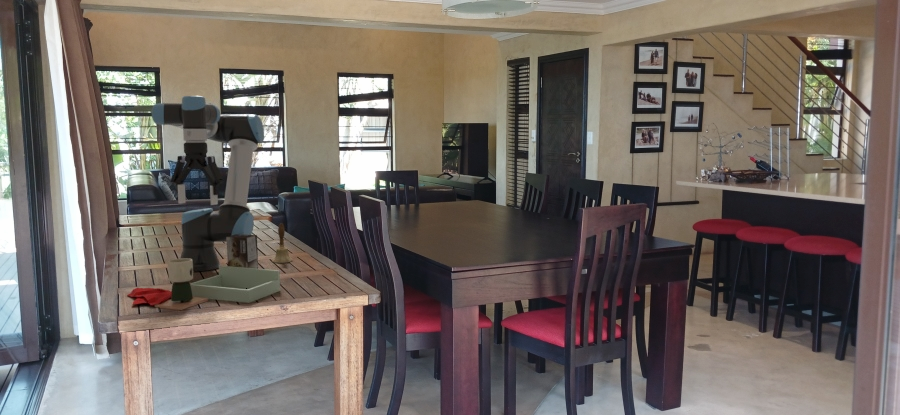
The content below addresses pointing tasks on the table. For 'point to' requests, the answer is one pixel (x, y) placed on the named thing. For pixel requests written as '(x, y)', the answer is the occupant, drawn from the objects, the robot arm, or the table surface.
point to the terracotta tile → (181, 303)
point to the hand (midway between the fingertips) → (198, 204)
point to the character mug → (181, 278)
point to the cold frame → (238, 284)
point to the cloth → (150, 295)
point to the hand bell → (282, 248)
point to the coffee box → (242, 251)
